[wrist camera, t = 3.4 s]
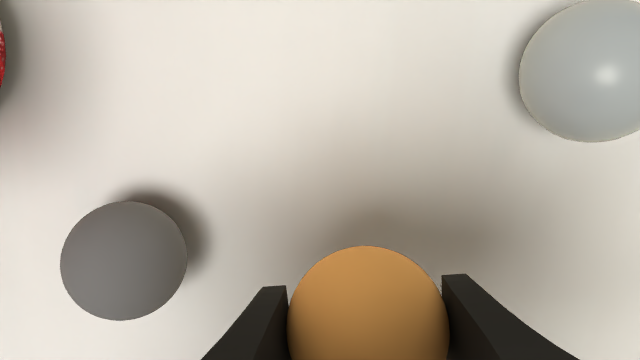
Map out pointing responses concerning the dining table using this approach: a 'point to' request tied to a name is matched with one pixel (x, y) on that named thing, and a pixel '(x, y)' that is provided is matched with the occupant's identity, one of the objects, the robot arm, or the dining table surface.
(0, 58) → the soda can
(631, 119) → the slate ball
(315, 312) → the ball
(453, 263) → the dining table surface
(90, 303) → the charcoal ball
